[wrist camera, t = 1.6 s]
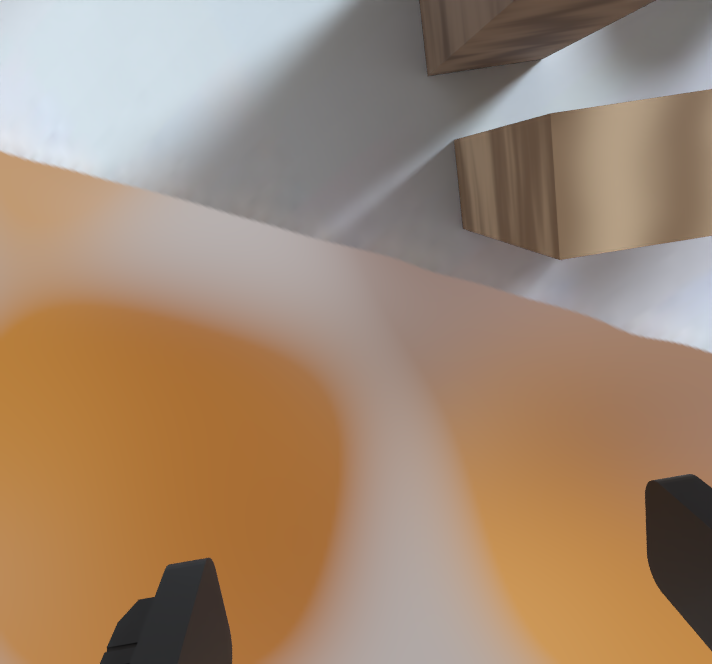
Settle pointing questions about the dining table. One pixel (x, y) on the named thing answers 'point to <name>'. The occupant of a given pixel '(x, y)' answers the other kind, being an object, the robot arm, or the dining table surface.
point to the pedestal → (509, 29)
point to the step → (593, 177)
